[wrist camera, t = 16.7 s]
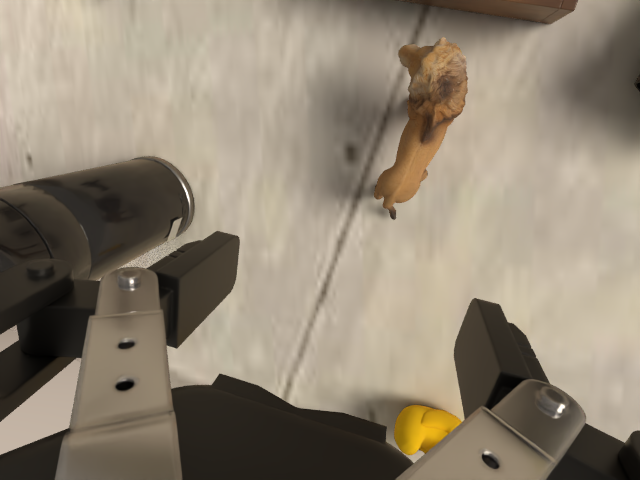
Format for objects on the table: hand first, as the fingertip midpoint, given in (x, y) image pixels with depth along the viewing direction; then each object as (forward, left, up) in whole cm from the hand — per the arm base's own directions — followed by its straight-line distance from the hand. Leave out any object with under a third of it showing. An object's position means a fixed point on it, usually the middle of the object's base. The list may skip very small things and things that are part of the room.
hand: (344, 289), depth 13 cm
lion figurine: (+1, +3, -24) cm, 25 cm away
